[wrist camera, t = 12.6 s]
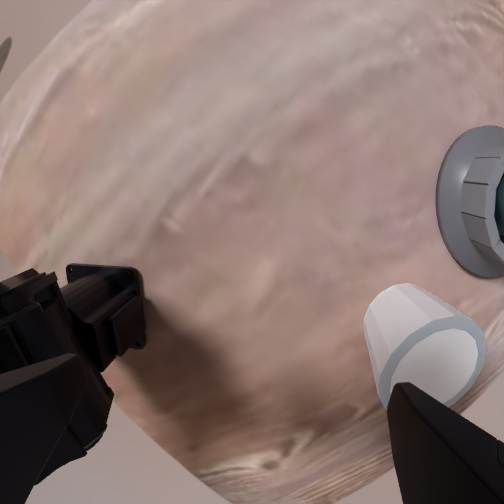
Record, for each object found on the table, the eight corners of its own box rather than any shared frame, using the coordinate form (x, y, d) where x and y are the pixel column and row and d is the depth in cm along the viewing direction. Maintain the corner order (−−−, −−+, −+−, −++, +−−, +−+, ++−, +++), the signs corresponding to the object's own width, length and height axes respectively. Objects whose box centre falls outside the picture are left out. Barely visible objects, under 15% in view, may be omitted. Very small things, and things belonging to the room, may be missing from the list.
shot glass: (453, 320, 20) (499, 367, 13) (384, 375, 21) (410, 437, 15) (412, 253, 19) (463, 289, 12) (335, 317, 21) (353, 377, 14)
